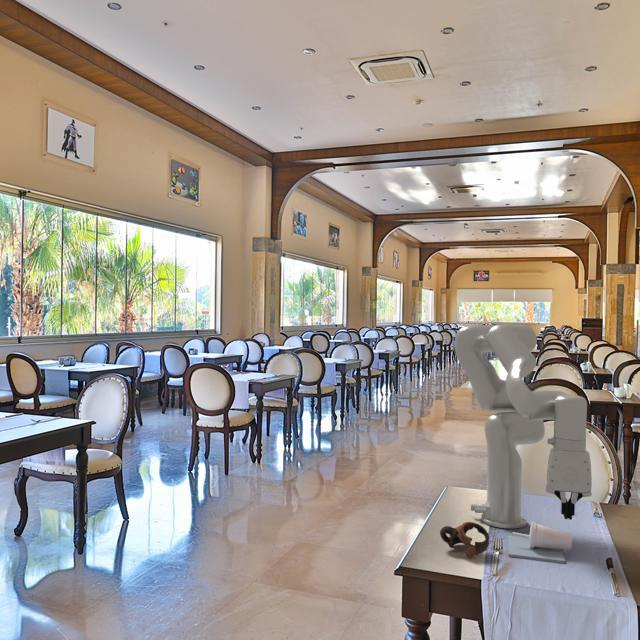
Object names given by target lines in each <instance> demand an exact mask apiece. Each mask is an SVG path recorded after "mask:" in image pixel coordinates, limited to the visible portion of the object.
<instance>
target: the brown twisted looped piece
mask: <svg viewBox="0 0 640 640" xmlns="http://www.w3.org/2000/svg"><path fill="white" fill-rule="evenodd" d="M473 529H476V530H477V533H479V534H482V535H484V540H482V541H474V545H473V544H472V543H471V542H472V541H473V538H472V537H470V536H468V535H467V532H469V531H471V530H473ZM447 534H448V535H449V536H448V535H447ZM439 535H440V537H441V539H442V541H443V542H444V543H446V544H447V545H448V547H449V549H452V548H453V547H454V546H455V545H458V544H463V545H465V547H467V550H466V552H465V556H466V558H469V559H472V558H474V557H475V556H478V555H481V554H482V553H485V552H486V551H488V548H489V546H490V535H489V532H488V531H487V529H486V528H485V527H484V526H482V525H481V524H479V523H476V522H473V521H466V522H463V523H462V524H461V525H459V526H457V527H452V526H450V525H445V526H443V527H441V529H440V530H439Z"/></svg>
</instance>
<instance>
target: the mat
mask: <svg viewBox="0 0 640 640" xmlns="http://www.w3.org/2000/svg"><path fill="white" fill-rule="evenodd" d="M507 551H508V552H507V555H508V557H510V558H519V559H527V560H534V561H535V560H536V561H543V562H551V563H558V564H560V563H561V564H566V559H565V555H564V552H563V549H555V548H541V547H534V548H531V547H529V537H524V536H519V535H509V534H508V535H507Z"/></svg>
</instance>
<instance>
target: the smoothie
mask: <svg viewBox="0 0 640 640" xmlns="http://www.w3.org/2000/svg"><path fill="white" fill-rule="evenodd" d="M529 528H530V529H529V534H524V533H520V532H515V531H512V535H513V536H520V537H528V538H529V547H531V548H534V547H541V548H555V549H562V550H572V547H573V534H572V533H569V532H565V531H563V530H559V529H555V528H552V527H549V526H546V525H542V524H539V523H537V522H536V521H531V522H530V527H529Z"/></svg>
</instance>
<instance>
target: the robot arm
mask: <svg viewBox="0 0 640 640" xmlns="http://www.w3.org/2000/svg"><path fill="white" fill-rule="evenodd" d="M537 342H538V340H537V334H536V332H535V330H534V329H533V328H532V327H531V326H529V325H527V324H523V323H522V324H520V323H519V324H516V323H515V324H514V323H511V324H510V323H502V324H496V325H487V324H486V325H485V324H484V325H483V324H476V325H475V324H474V325H472V324H471V325H466V326H463V327H461V328H459V330H458V331H457V332H456V334H455V337H454V352H455V355H456V358H457V360H458V362H459V364H460V366H461V367H462V369H463V371H464V372H465V374H466V376H467V379H468V380H469V383H470V386H471V387H472V390H473V392H474V393H473V394H474V395H475V398H476V400H477V402H478V404H479V407H480V409H482V410H483V411H484V412H487V413H493V414H491V415H490V416H488V418H486V420H485V423H484V433H485V440H486V447H487V448H486V449H487V478H486V480H487V481H486V483H487V484H486V485H487V486H486V501H485V504H483V503H482V504H476V503H471V504H470V511H472V512H474V513H475V514H481V515H480V519H481V521H482V522H483V523H484V524H486V525H488V526H491V527H495V528H499V529H500V528H501V529H512V530H513V529H521V528H524V527H525V526H526V525H527V524H528V523H527V522H528V521H527V519H526V518H525V517H524V516H522V484H523V483H522V481H523V477H522V476H523V465H522V464H523V463H522V462H523V461H522V458H521V455H520V453H519V452H518V450H517V447H516V446H524V445H534V444H537V443H539V442H541V441H542V440H543V439H544V436H545V431H546V428H545V424H544V423H545V422H544V421H546V420H548V421H552V420H553V421H554V422H553V437H551V438H547V445H551V446H552V447H550V451H549V455H548V459H547V470H546V471H547V472H546V482H547V483H546V486H545V492H546V493H549V494H551V495H554V496H556V497H557V498H558V500H560V502H561V503H560V507H561V508H560V513H561V515H563V518H564V519H565V520H573V517H575V513H576V512H575V511H576V510H575V509H576V504H577V503H578V501H580V500H581V499H582V498H589V497H592V495H593V494H592V482H593V479H592V476H593V475H592V464H591V463H592V461H591V455H590V452H589V451H588V450H587V449H586V447H587V417H588V415H587V413H588V412H587V411H588V402H587V399H586V398H585V397H584V396H581V395H573V394H568V393H566V392H564V391H560V390H531V389H529V387H528V386H527V384H526V383H525V381H524V380H523V379H524V378H525V377H527V376H529V375H530V374H531V373H532V372H533V371H534V370H535V368H536V366H537V359H536V357H535V355H534V354H533V353H532V351H533V350H535V348H536V346H537ZM482 353H484V354H485V353H494V354H495V356H496V358H498V361H499V362H500V364H502V365H501V366H502V367H503V368H504V370H505V371H506V373H507V375H506V378H505V379H506V380H504V379H502V378H501V377H500V376H499V374H498V373H497V371H496V367H495V366H494V365H493V363H492V362H491V361H490V360H489V359H488V358H487V357H485V356H484V355H483V354H482ZM566 492H567V493H570V496H569V499H567V496H566Z"/></svg>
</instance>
